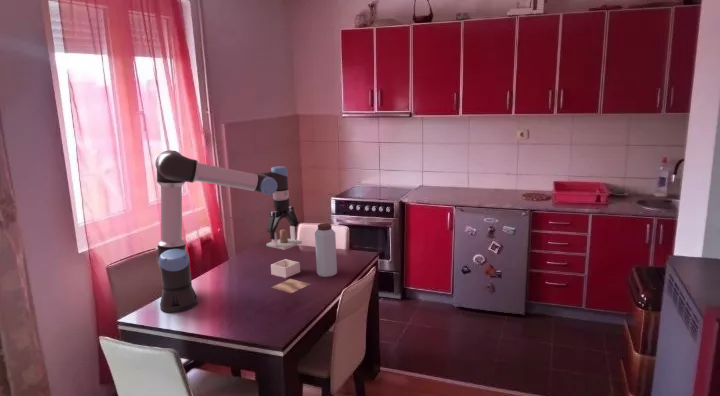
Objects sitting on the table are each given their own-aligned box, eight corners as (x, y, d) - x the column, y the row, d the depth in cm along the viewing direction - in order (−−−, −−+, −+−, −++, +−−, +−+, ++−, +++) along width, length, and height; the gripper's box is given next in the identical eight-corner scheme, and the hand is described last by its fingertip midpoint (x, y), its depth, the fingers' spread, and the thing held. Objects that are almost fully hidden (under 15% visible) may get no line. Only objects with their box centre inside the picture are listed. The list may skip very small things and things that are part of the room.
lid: (284, 249, 238) (283, 235, 237) (266, 245, 245) (265, 231, 244) (301, 243, 248) (300, 229, 246) (284, 239, 255) (283, 226, 253)
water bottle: (338, 271, 251) (336, 222, 246) (335, 278, 241) (333, 227, 237) (318, 271, 252) (316, 222, 247) (315, 278, 242) (312, 227, 238)
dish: (286, 279, 243) (285, 268, 242) (271, 275, 249) (270, 264, 247) (300, 272, 251) (299, 262, 249) (285, 269, 256) (285, 259, 255)
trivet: (291, 294, 224) (291, 293, 224) (270, 288, 231) (270, 287, 231) (311, 285, 234) (310, 283, 234) (290, 279, 242) (290, 278, 242)
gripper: (267, 204, 230) (271, 250, 234) (304, 195, 249) (306, 237, 253) (256, 202, 234) (260, 247, 239) (293, 193, 253) (295, 235, 258)
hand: (284, 242), depth 246 cm, fingers closed on lid, 12 cm apart
